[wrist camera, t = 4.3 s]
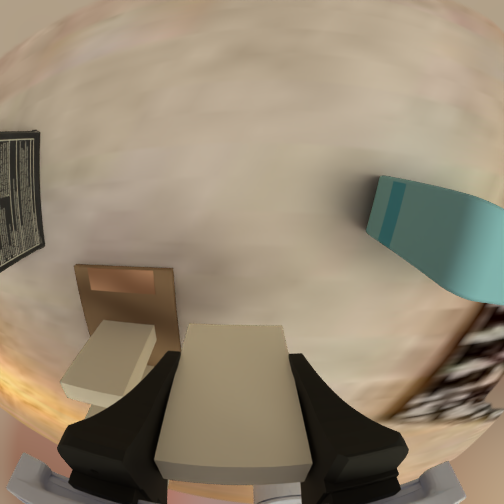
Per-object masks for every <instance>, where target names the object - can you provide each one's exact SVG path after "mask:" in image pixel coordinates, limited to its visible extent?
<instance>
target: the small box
mask: <svg viewBox="0 0 504 504" xmlns="http://www.w3.org/2000/svg"><path fill="white" fill-rule="evenodd" d="M39 144H40V132H39V131H37V130H32V131H18V132H15V131H11V132H7V131H5V132H0V273H1V272H2V271H4V270H5V269H7V268H8V267H10V266H11V265H13V264H14V263H16V262H18V261H19V260H21V259H22V258H24V257H26V256H28V255H29V254H31V253H33V252H34V251H36V250H38V249H41V248H43V247H44V246H45V243H44V235H43V226H42V216H41V204H40V186H39Z"/></svg>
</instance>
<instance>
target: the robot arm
mask: <svg viewBox="0 0 504 504" xmlns="http://www.w3.org/2000/svg"><path fill="white" fill-rule="evenodd" d="M180 357H181V351H167V352H166V353H165V354H164V356H163V357H162V358H161V359H160V361H159V362H158V363H157V364H156V365H155V366H154V368H153V369H152V370H151V371H150V372H149V373H148V374H147V375H146V376H145V377H144V379H143V380H142V381H140V382H139V383H138V384H137V385H136V386H135V387H134V388H133V389H132V390H131V391H130V392H129V393H127V394H126V395H125V396H124V397H122V398H121V399H120V400H118V401H117V402H115V403H114V404H112V405H111V406H109V407H108V408H106V409H105V410H103V411H101V412H99V413H97V414H95V415H93V416H91V417H89V418H87V419H84V420H82V421H79V422H76V423H74V424H71V425H68V427H67V428H66V430H65V432H64V434H63V436H62V438H61V440H60V442H59V444H58V447H57V450H58V452H59V454H60V455H61V457H62V458H63V459H64V460H65V462H66V463H67V464H68V465H69V466H70V467H71V468H72V469H73V470H72V473H71V475H70V478H67V477H65V476H62V475H60V474H57V473H55V472H53V471H51V469H50V468H49V467H48V466H47V465H46V464H45V463H44V462H42V461H40V460H39V459H36V458H34V457H32V456H30V455H28V454H26V453H23V454H22V456H21V458H20V460H19V462H18V464H17V466H16V468H15V470H14V472H13V474H12V476H11V478H10V481H9V483H8V485H7V487H6V488H7V490H8V491H10V492H11V493H12V494H13V495H14V496H16V497H17V498H18V499H19V500H21V501H22V502H23V503H25V504H167V488H168V479H163V477H162V475H161V473H160V471H159V469H158V467H157V465H156V463H155V461H154V458H155V453H156V449H157V445H158V440H159V436H160V432H161V428H162V423H163V419H164V415H165V411H166V407H167V403H168V399H169V395H170V391H171V388H172V384H173V380H174V376H175V373H176V371H177V368H178V364H179V360H180ZM289 362H290V366H291V371H292V374H293V376H294V380H295V384H296V389H297V393H298V398H299V402H300V407H301V412H302V416H303V421H304V425H305V430H306V435H307V439H308V444H309V449H310V453H311V458H312V463H313V464H312V466H311V468H310V470H309V472H308V474H307V477H306V479H305V481H304V482H296V483H284V484H268V485H253V495H254V504H459V503H460V502H461V501H463V500H464V499H465V498H466V495H465V493H464V491H463V488H462V486H461V484H460V482H459V481H458V479H457V477H456V475H455V473H454V471H453V469H452V467H451V465H450V463H449V461H446V462H444V463H441V464H439V465H437V466H435V467H432V468H430V469H428V470H427V471H425V472H424V473H423V474H422V475H421V476H420V477H419V478H418V479H416V480H413V481H410V482H408V483H405V484H402V485H399V482H398V480H397V476H398V475H399V473H398V470H397V467H398V466H399V465H400V463H401V462H402V461H403V460H404V459H405V457H406V456H407V454H408V451H409V449H408V447H407V445H406V443H405V441H404V439H403V437H402V436H401V434H400V432H397V431H394V430H392V429H390V428H387V427H385V426H382V425H380V424H378V423H376V422H374V421H373V420H371V419H369V418H367V417H366V416H364V415H362V414H361V413H359V412H358V411H356V410H355V409H353V408H352V407H351V406H349V405H348V404H347V403H346V402H344V401H343V400H342V399H341V398H340V397H339V396H338V395H337V394H336V393H335V392H334V391H333V390H332V389H331V388H330V387H329V386H328V385H327V384H326V383H325V382H324V381H323V380H322V379H321V377H320V376H319V375H318V374H317V373H316V371H315V370H314V369H313V368H312V366H311V365H310V364H309V362H308V361H307V360H306V358H305V357H304V355H303V354H302V353H300V354H289Z"/></svg>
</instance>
